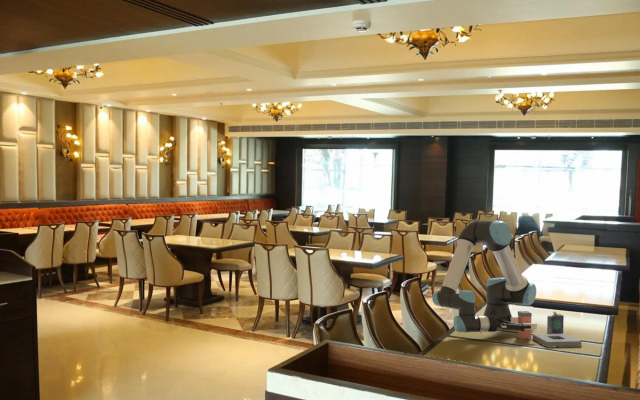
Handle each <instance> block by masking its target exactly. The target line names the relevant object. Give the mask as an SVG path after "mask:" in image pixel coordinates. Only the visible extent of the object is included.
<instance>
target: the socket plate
mask: <svg viewBox="0 0 640 400" xmlns="http://www.w3.org/2000/svg"><path fill="white" fill-rule="evenodd" d="M532 340H533V341H534V340H535V341H534V342H536V341H537V342H536V343H538V342H539V343H538V344H540V343H541V344H540V345H542V344H544V345H546V346H559V347H558V348H579V347H580V348H582V343H583V342H582V340H580V339H578V338H576V337H573V336H572V335H569V334H567V333H563V334H562V333H561V334H547V333H540V334H539V333H537V334H536V333H534V334H532ZM544 345H543V346H544Z"/></svg>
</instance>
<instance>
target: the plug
mask: <svg viewBox="0 0 640 400" xmlns="http://www.w3.org/2000/svg"><path fill="white" fill-rule="evenodd" d="M532 314H533V313H532V312H530V311H527V310H518V311H517V317H518V324H523V323H532V317H533V315H532ZM518 336H519V337H518ZM517 337H518V338H520V337H521V338H531V339H532V329H530V330H525V331H524V332H523V331H520V330H517ZM521 338H520V339H521Z"/></svg>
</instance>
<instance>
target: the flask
mask: <svg viewBox="0 0 640 400" xmlns="http://www.w3.org/2000/svg"><path fill="white" fill-rule="evenodd" d="M564 320H565V318H564V314H561V313H557V311H553V315H547V322H546V323H547V324H546V325H547V326H546V327H547V328H546V329H547V331H546V334H564V322H565V321H564Z"/></svg>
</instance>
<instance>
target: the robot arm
mask: <svg viewBox="0 0 640 400" xmlns="http://www.w3.org/2000/svg"><path fill="white" fill-rule="evenodd" d="M512 237H513V234H512V229H511V227H510V225H509V224H508V223H507V222H506V221H501V220H481V219H477V220H473V221H470V222H469V223H468V224H467V225H465V226H464V228H463V229H462V230H461V231H460V233H459V235H458V237H457V238H456V248H455V250H454V253H453V255H452V259H451V261H450V263H449V265H448V269H447V271H446V273H445V278H444V279H443V282H442V284H441V287H440V288H439V290H435V291H434V292H433V294H432V298H431V299H432V300H431V301H432V303H433V304H434V305H435V306H438V307H441V308H448V309H454V310H458V315H456V316H455V317H453V328H454V330H455V331H456V332H458V333H480V334H482V333H487V332H489V333H491V332H492V333H495V332H497V330H498V328H499V329H501V330H510V331H518V330H520V331H523V332H524V331H525V330H530V329H531V330H538V323H536V322H531V323H523V324H518V316H517V317H513V316H512V313H511V310H510V305H509V303H510V304H513V305H514V304H515V305H519V306H531V305H532V304H534V302H535V300H536V297H537V296H536V295H537V287H536V284H534V283H533V282H531V283H530V282H529V281H528V278H527V277H526V276H524V275H523V274H522V272H521V270H520V267H519V265H518V263H517V260H516V258H515V256H514V254H513V251H512V249H511V247H510V243H511V241H512ZM478 244H484V245H485V246H486V247H487V250H488V251H490V252H492V254H493V256H494V258H495V260H496V263H497V264H498V266H499V269H500V271H501V273H502V275H503V277H493V278H488V279H486V286H485V287H486V291H485V292H486V294H485V295H486V304H485V305H486V306H485V308H484V312H483V315H476V293H475V291H473V290H471V289H470V290H469V289H468V290H467V289H462V290H459V291H458V293H457V290H458V289H459V285H460V283H461V280H462V278H463V275H464V272H465V269H466V267H467V264H468V262H469V258H470V256H471V253H472V251H473V250H474V249H476V245H478Z"/></svg>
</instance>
